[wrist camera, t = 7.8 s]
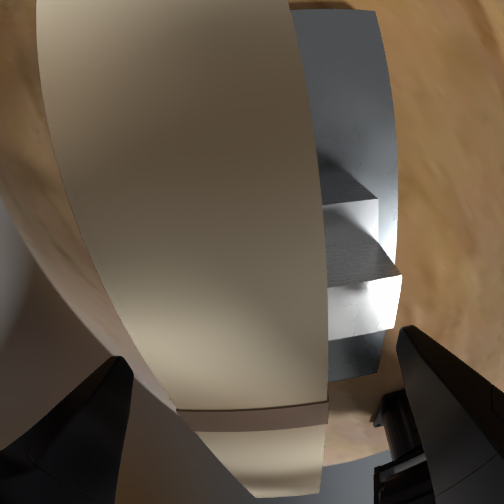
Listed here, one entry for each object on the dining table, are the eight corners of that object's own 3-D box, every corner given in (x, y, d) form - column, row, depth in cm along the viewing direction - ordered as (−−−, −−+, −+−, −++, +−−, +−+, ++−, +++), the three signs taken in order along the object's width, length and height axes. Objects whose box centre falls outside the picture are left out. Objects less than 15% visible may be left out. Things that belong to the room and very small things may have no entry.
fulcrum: (372, 360, 19) (393, 426, 14) (193, 380, 21) (180, 446, 15) (366, 17, 9) (427, -25, 4) (85, 75, 10) (1, 76, 5)
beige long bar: (315, 442, 14) (319, 493, 11) (256, 447, 15) (254, 498, 11) (253, -40, 4) (247, -124, 1) (119, -2, 4) (37, -43, 1)
